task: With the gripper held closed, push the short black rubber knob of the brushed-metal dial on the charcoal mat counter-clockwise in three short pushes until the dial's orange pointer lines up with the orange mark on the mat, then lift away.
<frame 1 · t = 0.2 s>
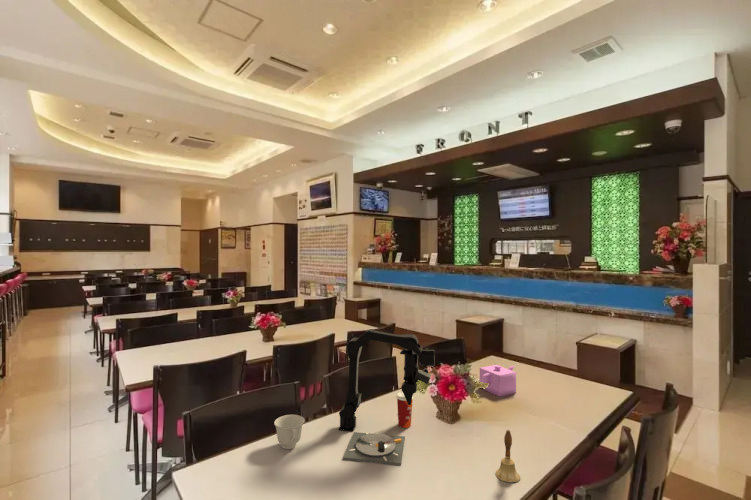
hand: (410, 400, 163), 14 cm above the table, fingers open, 9 cm apart
teacup: (290, 447, 151), on the table
hand bell: (507, 476, 134), on the table
dial: (375, 440, 151), point 3 cm above the table, hinge at -60.0°
teapot: (498, 390, 215), on the table
paper cup: (404, 425, 171), on the table
mat: (375, 448, 151), on the table
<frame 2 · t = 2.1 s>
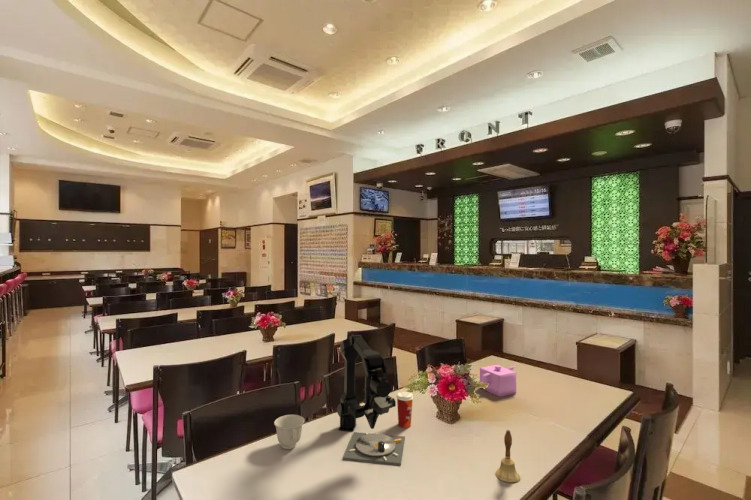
hand: (372, 428, 142), 12 cm above the table, fingers closed
nothing on the table moved.
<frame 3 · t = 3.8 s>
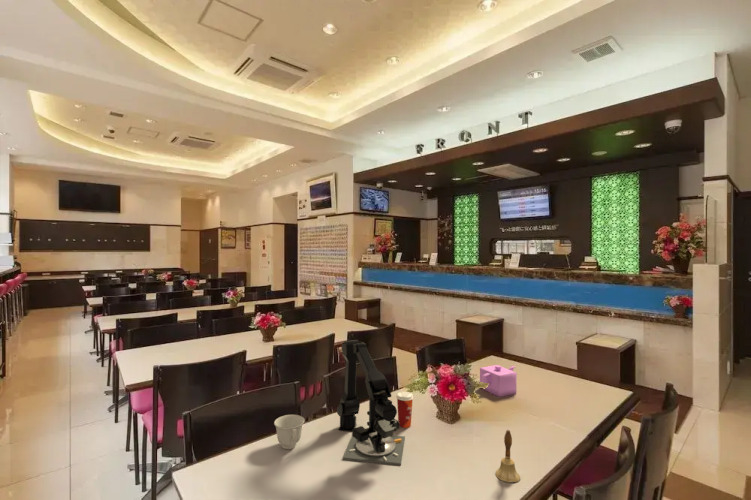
hand: (376, 450, 144), 3 cm above the table, fingers closed
dial: (375, 440, 151), point 3 cm above the table, hinge at -58.1°, touching gripper
everything else where it was.
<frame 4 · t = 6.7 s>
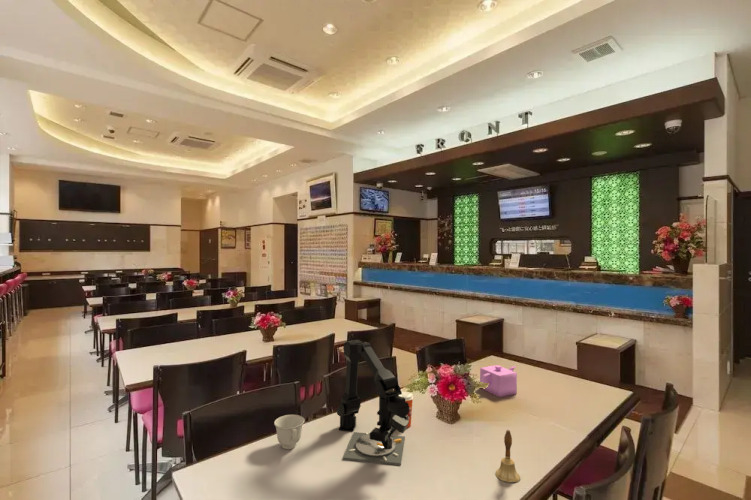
hand: (386, 448, 145), 3 cm above the table, fingers closed
dial: (375, 440, 151), point 3 cm above the table, hinge at -22.4°, touching gripper
everything else where it was.
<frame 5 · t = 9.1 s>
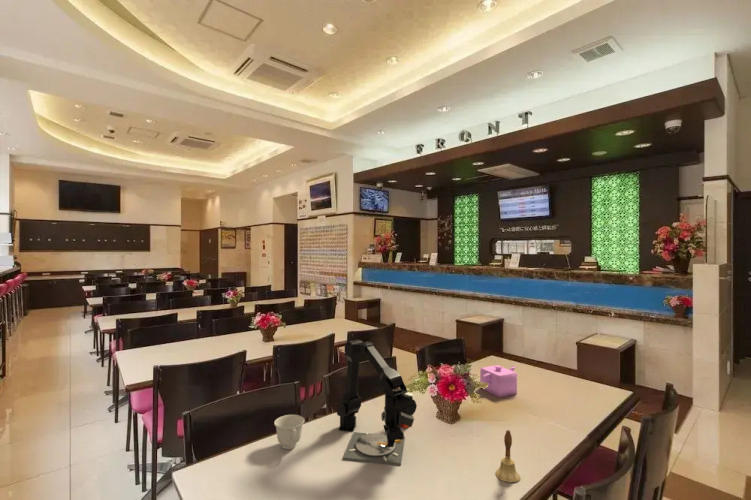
hand: (391, 446, 147), 3 cm above the table, fingers closed
dial: (375, 440, 151), point 3 cm above the table, hinge at -1.8°, touching gripper
everything else where it was.
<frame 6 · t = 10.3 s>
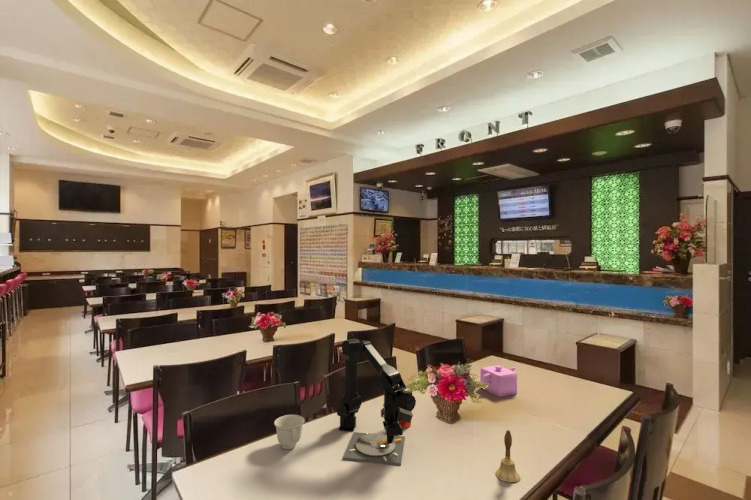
hand: (390, 442, 150), 3 cm above the table, fingers closed
dial: (375, 440, 151), point 3 cm above the table, hinge at 25.9°, touching gripper
everything else where it was.
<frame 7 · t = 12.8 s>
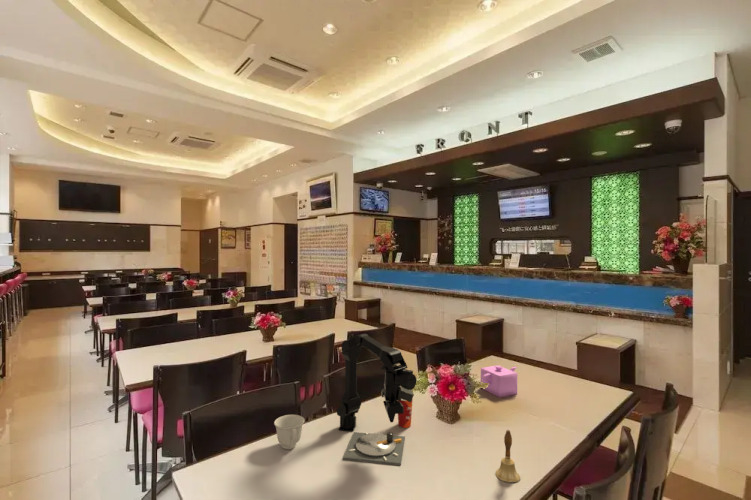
hand: (391, 421, 148), 12 cm above the table, fingers closed
dial: (375, 440, 151), point 3 cm above the table, hinge at 25.9°
everything else where it was.
at the end: dial at +26° (first picture: -60°) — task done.
